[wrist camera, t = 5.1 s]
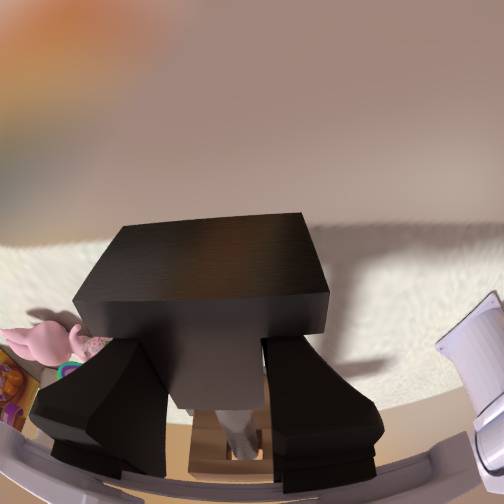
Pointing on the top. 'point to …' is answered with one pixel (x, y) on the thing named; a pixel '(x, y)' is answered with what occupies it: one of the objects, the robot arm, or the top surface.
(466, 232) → the top surface
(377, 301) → the top surface
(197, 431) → the bracket
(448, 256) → the top surface
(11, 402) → the candy box
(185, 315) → the shaft
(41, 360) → the pink toy animal
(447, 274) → the top surface
